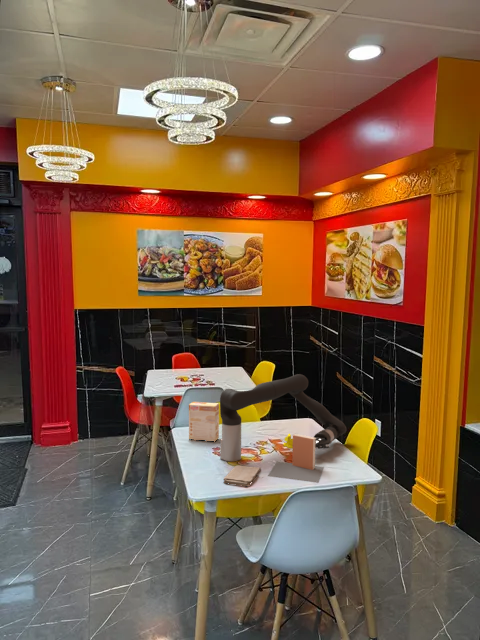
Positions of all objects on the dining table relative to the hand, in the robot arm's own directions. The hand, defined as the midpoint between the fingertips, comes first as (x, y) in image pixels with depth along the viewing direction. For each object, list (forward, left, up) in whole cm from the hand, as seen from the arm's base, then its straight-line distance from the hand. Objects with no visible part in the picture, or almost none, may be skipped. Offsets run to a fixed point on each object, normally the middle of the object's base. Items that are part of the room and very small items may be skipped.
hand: (309, 447), depth 221 cm
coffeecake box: (-60, +17, -8) cm, 63 cm away
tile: (-2, -6, -7) cm, 9 cm away
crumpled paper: (-12, +19, -8) cm, 24 cm away
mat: (-4, -13, -8) cm, 15 cm away
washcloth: (-25, -25, -8) cm, 36 cm away
